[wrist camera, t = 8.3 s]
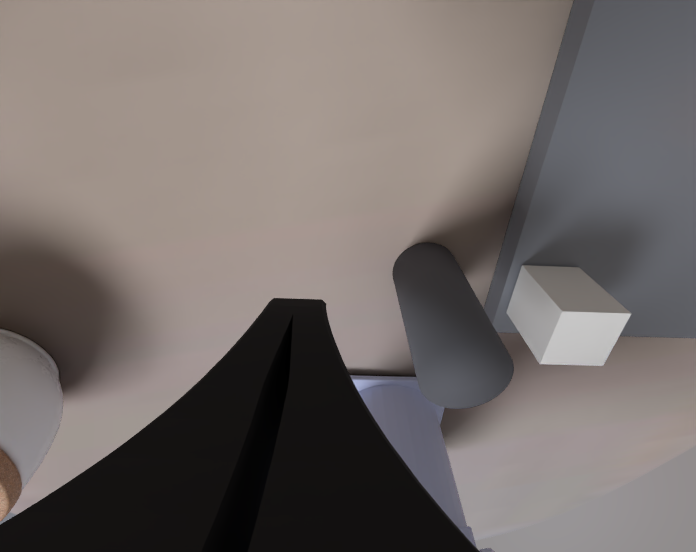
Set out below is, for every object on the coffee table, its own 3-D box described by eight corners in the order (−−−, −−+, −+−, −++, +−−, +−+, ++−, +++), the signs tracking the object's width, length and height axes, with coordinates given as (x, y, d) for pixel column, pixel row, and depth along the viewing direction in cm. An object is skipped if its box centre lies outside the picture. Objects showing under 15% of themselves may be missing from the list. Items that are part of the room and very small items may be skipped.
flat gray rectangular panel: (701, 323, 23) (722, 339, 22) (481, 316, 23) (490, 332, 21) (913, 10, 15) (967, 6, 14) (577, -13, 14) (600, -20, 13)
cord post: (449, 298, 22) (499, 409, 15) (389, 296, 22) (411, 407, 15) (462, 243, 20) (525, 341, 13) (396, 241, 20) (426, 338, 13)
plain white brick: (559, 314, 21) (603, 365, 17) (506, 312, 20) (539, 364, 17) (579, 267, 19) (631, 313, 16) (521, 265, 19) (562, 311, 15)
